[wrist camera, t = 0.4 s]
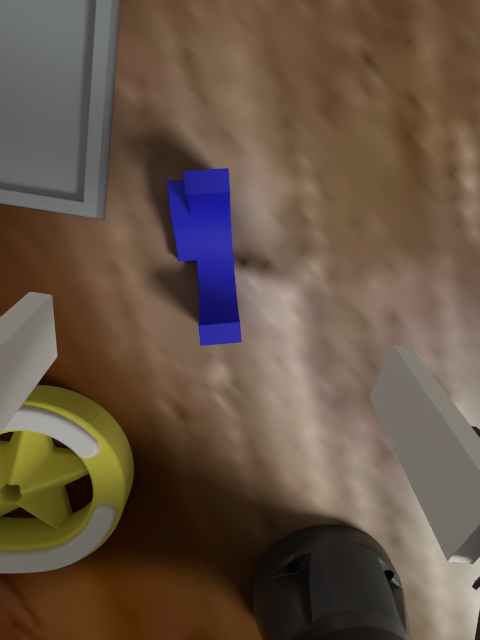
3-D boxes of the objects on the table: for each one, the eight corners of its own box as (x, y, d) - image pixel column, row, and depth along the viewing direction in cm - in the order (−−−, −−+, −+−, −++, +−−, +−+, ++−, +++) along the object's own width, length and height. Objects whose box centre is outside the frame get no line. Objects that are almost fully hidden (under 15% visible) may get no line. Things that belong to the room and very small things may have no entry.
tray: (104, 219, 30) (95, 217, 28) (-88, 189, 29) (-111, 185, 27) (128, -99, 25) (120, -128, 24) (-96, -149, 24) (-124, -184, 22)
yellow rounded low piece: (-115, 406, 32) (-175, 435, 28) (114, 370, 33) (94, 392, 28) (-57, 558, 36) (-101, 607, 31) (149, 524, 36) (138, 567, 31)
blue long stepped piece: (172, 187, 30) (160, 172, 24) (226, 183, 30) (228, 168, 24) (187, 328, 32) (179, 347, 26) (237, 324, 32) (241, 342, 26)
